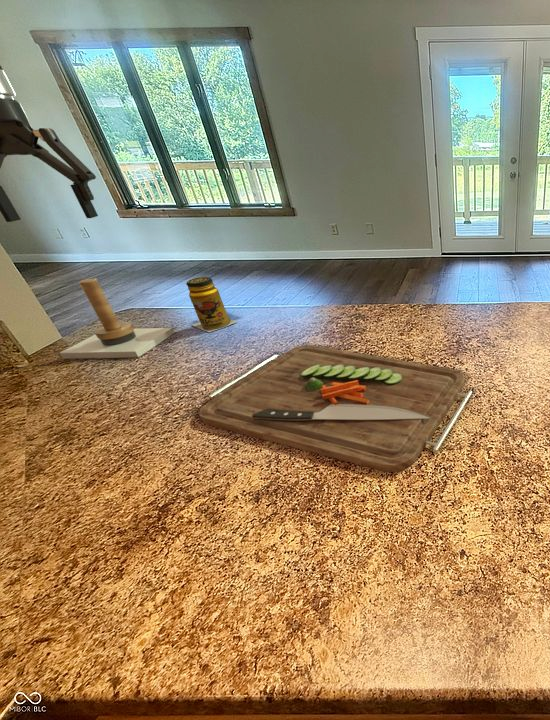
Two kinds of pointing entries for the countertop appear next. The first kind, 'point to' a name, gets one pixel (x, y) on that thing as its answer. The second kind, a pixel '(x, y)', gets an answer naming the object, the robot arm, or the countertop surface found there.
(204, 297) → the condiment
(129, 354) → the tile
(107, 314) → the brush
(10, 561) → the countertop surface
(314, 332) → the countertop surface
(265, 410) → the chopping board
